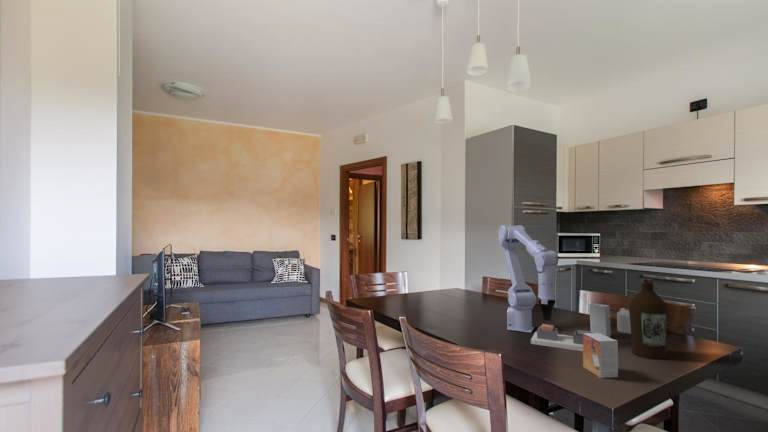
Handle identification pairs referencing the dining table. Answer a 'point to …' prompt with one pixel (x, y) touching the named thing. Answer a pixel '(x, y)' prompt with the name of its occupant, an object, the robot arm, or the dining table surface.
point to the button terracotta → (547, 327)
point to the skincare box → (600, 319)
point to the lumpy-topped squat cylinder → (623, 321)
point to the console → (558, 339)
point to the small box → (600, 355)
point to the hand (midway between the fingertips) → (547, 319)
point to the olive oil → (648, 322)
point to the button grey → (580, 332)
